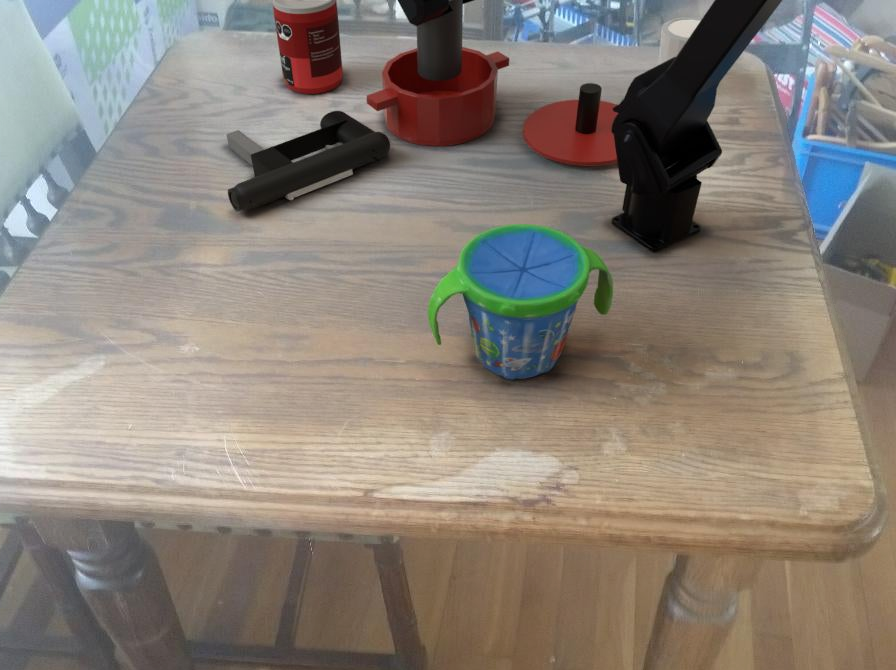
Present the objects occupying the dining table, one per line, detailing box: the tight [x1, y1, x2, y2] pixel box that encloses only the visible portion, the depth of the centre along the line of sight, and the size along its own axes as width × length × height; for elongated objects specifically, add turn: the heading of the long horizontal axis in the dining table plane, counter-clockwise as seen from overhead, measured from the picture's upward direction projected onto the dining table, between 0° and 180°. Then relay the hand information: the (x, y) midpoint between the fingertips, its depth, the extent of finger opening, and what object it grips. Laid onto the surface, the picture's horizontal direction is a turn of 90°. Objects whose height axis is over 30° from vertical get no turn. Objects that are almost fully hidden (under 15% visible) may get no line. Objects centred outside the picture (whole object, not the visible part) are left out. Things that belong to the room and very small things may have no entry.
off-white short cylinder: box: [657, 16, 702, 66], centre depth 106 cm, size 7×7×7 cm
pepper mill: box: [416, 0, 464, 81], centre depth 96 cm, size 5×5×14 cm
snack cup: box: [427, 223, 614, 381], centre depth 73 cm, size 16×10×10 cm
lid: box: [522, 82, 618, 167], centre depth 99 cm, size 14×14×6 cm
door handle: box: [226, 110, 391, 212], centre depth 99 cm, size 3×20×16 cm
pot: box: [366, 46, 510, 147], centre depth 104 cm, size 13×19×6 cm
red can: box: [272, 0, 344, 95], centre depth 110 cm, size 8×8×11 cm
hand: (431, 10), depth 97 cm, fingers closed on pepper mill, 5 cm apart
